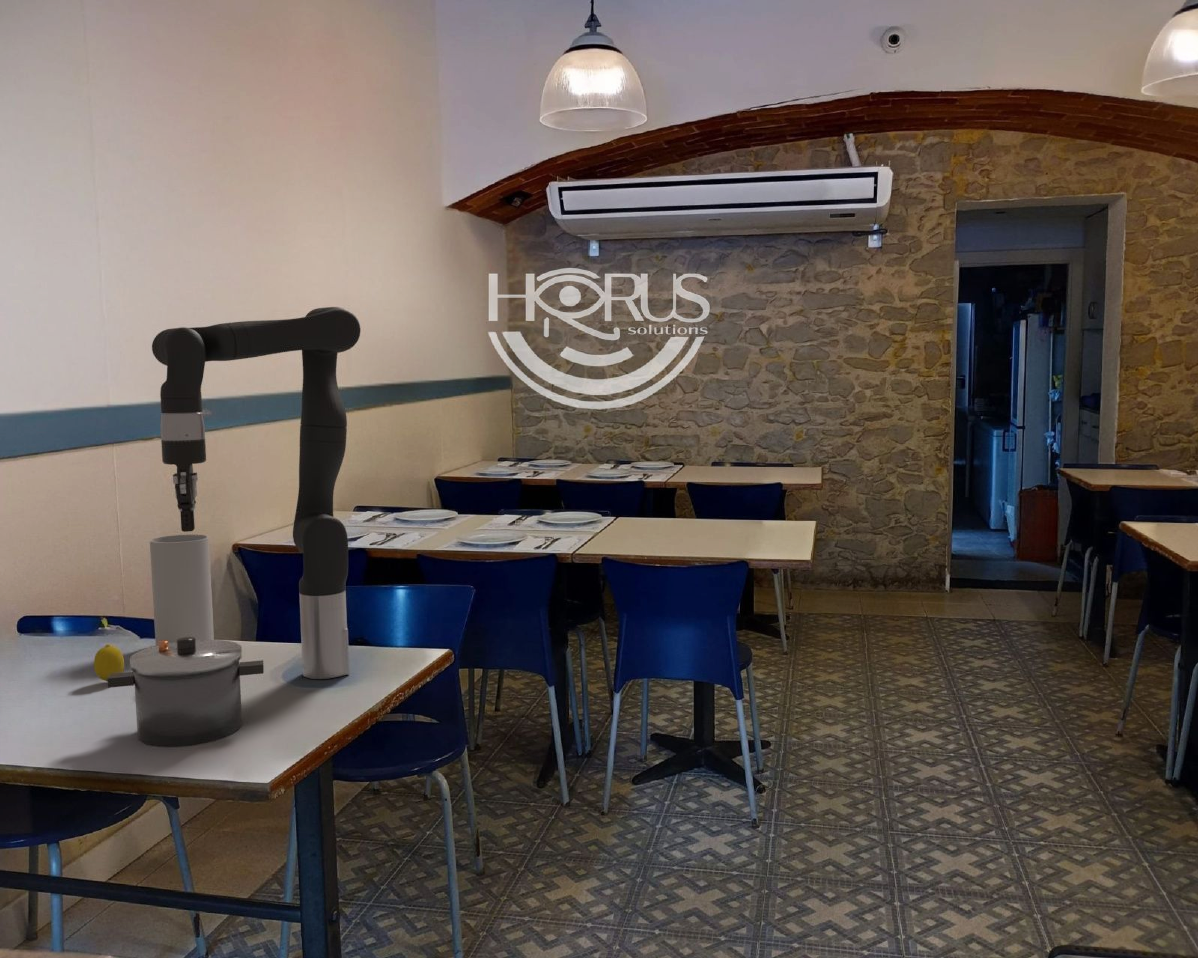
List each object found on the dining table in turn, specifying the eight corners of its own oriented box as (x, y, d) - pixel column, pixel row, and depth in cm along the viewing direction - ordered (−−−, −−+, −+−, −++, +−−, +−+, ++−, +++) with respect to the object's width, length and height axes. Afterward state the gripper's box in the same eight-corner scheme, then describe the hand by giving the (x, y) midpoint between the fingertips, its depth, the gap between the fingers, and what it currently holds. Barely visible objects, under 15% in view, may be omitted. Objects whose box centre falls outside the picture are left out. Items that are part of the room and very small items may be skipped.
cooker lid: (243, 644, 191) (242, 623, 190) (240, 669, 174) (239, 647, 173) (137, 653, 185) (136, 631, 185) (123, 680, 168) (121, 657, 168)
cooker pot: (266, 705, 194) (263, 642, 192) (265, 737, 176) (262, 668, 175) (121, 719, 186) (117, 654, 185) (104, 754, 169) (100, 682, 168)
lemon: (101, 679, 212) (99, 641, 211) (129, 678, 213) (127, 640, 212) (90, 687, 207) (88, 648, 206) (119, 686, 207) (116, 647, 206)
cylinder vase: (208, 650, 234) (202, 541, 231) (149, 654, 232) (143, 543, 229) (218, 637, 246) (213, 533, 244) (163, 640, 244) (157, 535, 242)
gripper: (202, 438, 185) (207, 534, 187) (207, 435, 197) (211, 525, 199) (157, 440, 183) (162, 537, 184) (165, 436, 195) (170, 527, 197)
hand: (188, 530), depth 192 cm, fingers closed
